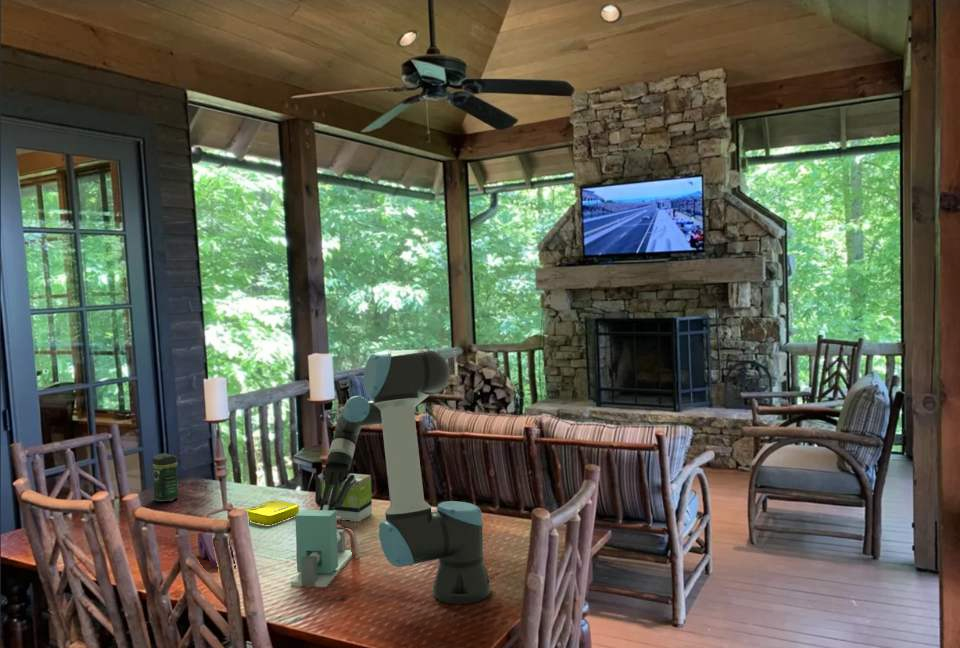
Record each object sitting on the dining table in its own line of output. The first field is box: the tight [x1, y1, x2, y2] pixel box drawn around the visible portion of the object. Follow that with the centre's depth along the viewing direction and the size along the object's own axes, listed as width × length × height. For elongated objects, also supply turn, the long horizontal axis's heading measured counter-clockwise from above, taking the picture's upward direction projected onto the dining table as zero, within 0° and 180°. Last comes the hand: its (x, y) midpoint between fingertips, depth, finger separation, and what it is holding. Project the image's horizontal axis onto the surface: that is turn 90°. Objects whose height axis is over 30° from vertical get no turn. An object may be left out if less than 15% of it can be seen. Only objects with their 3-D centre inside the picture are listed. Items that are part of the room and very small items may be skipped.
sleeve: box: [294, 509, 338, 573], centre depth 191 cm, size 5×10×16 cm, turn 82°
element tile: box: [244, 499, 300, 525], centre depth 245 cm, size 15×15×5 cm
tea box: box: [321, 472, 373, 523], centre depth 244 cm, size 15×10×15 cm
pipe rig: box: [290, 528, 353, 588], centre depth 196 cm, size 24×10×8 cm, turn 172°
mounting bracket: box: [197, 533, 235, 568], centre depth 207 cm, size 9×8×18 cm
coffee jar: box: [152, 452, 179, 500], centre depth 272 cm, size 10×8×19 cm
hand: (322, 527), depth 195 cm, fingers closed
